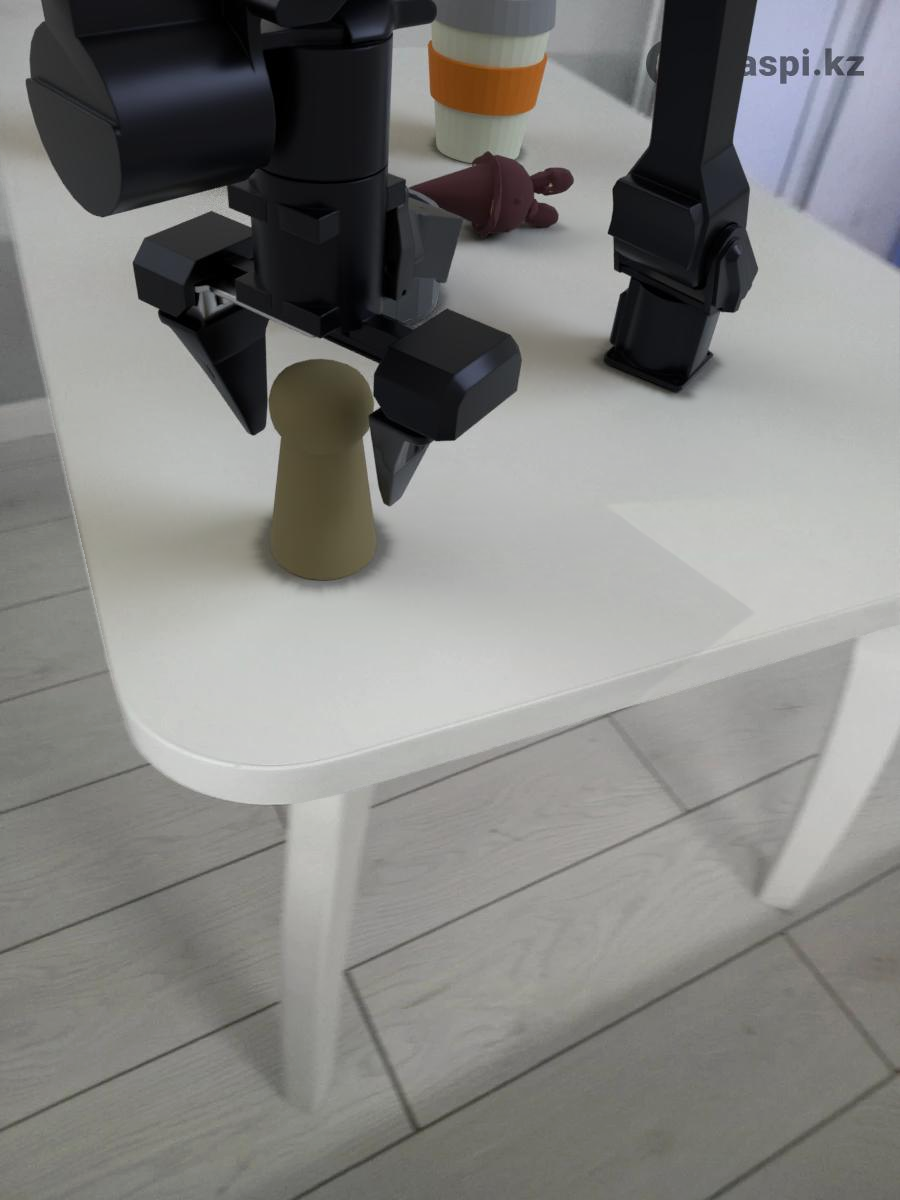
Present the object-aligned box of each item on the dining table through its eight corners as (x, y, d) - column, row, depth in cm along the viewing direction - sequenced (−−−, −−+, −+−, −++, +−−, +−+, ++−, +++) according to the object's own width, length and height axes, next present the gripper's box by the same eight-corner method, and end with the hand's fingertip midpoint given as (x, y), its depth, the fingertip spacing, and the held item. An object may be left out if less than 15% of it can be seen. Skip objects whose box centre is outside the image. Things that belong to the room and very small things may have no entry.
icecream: (426, 181, 74) (591, 192, 79) (407, 125, 78) (566, 139, 83) (409, 252, 80) (564, 258, 85) (392, 197, 84) (542, 206, 88)
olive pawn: (398, 551, 52) (408, 384, 45) (310, 595, 49) (305, 424, 42) (335, 496, 55) (334, 330, 48) (248, 535, 52) (233, 364, 44)
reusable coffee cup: (538, 176, 94) (564, 7, 84) (416, 164, 94) (426, -8, 83) (533, 133, 103) (555, -25, 92) (421, 122, 102) (431, -38, 92)
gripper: (611, 169, 39) (550, 465, 50) (278, 61, 45) (289, 344, 57) (467, 253, 32) (433, 574, 43) (98, 111, 39) (152, 422, 50)
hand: (322, 465), depth 48 cm, fingers open, 9 cm apart
